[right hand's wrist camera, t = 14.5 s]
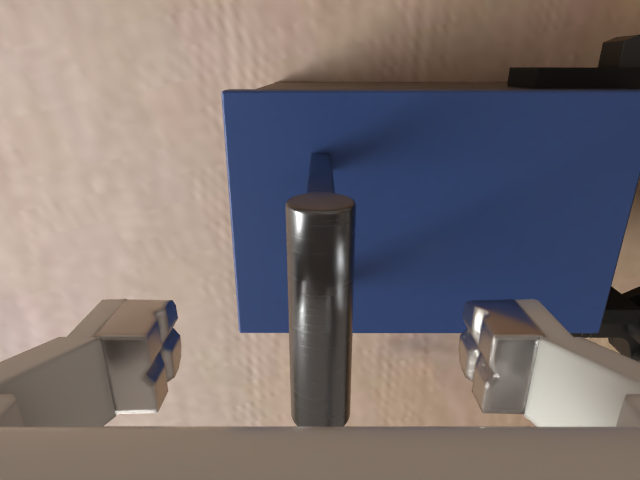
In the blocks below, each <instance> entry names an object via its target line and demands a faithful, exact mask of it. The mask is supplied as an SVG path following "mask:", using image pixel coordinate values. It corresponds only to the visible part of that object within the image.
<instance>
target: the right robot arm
mask: <svg viewBox="0 0 640 480" xmlns="http://www.w3.org/2000/svg"><path fill="white" fill-rule="evenodd" d="M177 319H178V316H177V310H176V305H175V303H174V302H173V300H127V299H108V300H102V301H101V302H100V303H99V304H98V305H97V306H96V307H95V308H94V309H93V310H92V311H91V312H90V313H89V314H88V315H87V316H86V317H85V318H84V320H83V321H82V322H81V323H80V324H79V325H78V326H77V327H76V328H75V329H74V330H73V331H72V332H71V333H70V334H69V335H68V336H67V337H58V338H56V339H54V340H51V341H49V342H47V343H44V344H42V345H40V346H37V347H35V348H32V349H30V350H28V351H25V352H23V353H21V354H18V355H16V356H14V357H11V358H9V359H7V360H4V361H2V362H0V480H640V362H638V361H636V360H633V359H631V358H629V357H626V356H624V355H622V354H619V353H617V352H615V351H612V350H610V349H608V348H605V347H603V346H601V345H598V344H596V343H593V342H591V341H589V340H586V339H584V338H582V337H573V336H572V335H571V334H570V333H569V332H568V331H567V330H566V329H565V328H564V327H563V326H562V325H561V324H560V323H559V321H558V320H557V319H556V318H555V317H554V316H553V315H552V314H551V313H550V312H549V311H548V310H547V309H546V308H545V307H544V306H543V305H542V304H541V303H540V302H539V301H538V300H535V299H519V300H514V299H505V300H470V301H466V303H465V306H464V309H463V316H462V319H463V320H464V322H465V324H466V326H467V328H466V330H465V331H464V332H463V333H462V334H461V335H460V341H459V359H460V364H461V368H462V371H463V373H464V375H465V377H466V378H467V379H469V380H470V381H472V382H473V386H472V392H473V394H474V396H475V398H476V401H477V403H478V405H479V407H480V409H481V411H482V413H503V414H524V416H525V417H526V418H527V419H529V420H530V421H531V422H532V423H534V424H535V425H536V426H537V427H103V426H104V425H105V424H107V423H108V422H109V421H110V420H112V419H113V418H114V417H115V416H116V414H136V413H158V411H159V409H160V407H161V405H162V403H163V401H164V399H165V397H166V394H167V392H168V386H167V382H168V381H170V380H171V379H173V378H174V377H175V375H176V373H177V371H178V369H179V364H180V359H181V339H180V335H179V334H178V333H177V332H176V331H175V330H174V328H173V326H174V324H175V322H176V321H177Z"/></svg>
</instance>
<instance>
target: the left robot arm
mask: <svg viewBox="0 0 640 480" xmlns="http://www.w3.org/2000/svg"><path fill="white" fill-rule="evenodd" d="M507 86H515V87H526V88H625V89H640V35H633V36H624V37H616V38H613V39H611V40H608V41H606V42H603V45H602V50H601V55H600V60H599V65H598V68H510V70H509V77H508V84H507ZM570 334H571V335H572V336H573V337H582V338H588V337H590V338H608V340H609V343H610V344H611V345H612V346H613V347H615V348H616V350H617V351H618V352H620V353H621V354H622V355H624V356H626V357H629V358H631V359H633V360H636V361H638V362H640V287H637V288H635V289H633V290H630V291H628V292H626V293H623V294H621V293H619V292H618V291H617V290H615V289H614V288H613V287H611V288H610V292H609V296H608V300H607V304H606V308H605V311H604V315H603V319H602V323H601V327H600V331H599V333H570Z"/></svg>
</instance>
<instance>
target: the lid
mask: <svg viewBox="0 0 640 480" xmlns="http://www.w3.org/2000/svg"><path fill="white" fill-rule="evenodd" d="M222 107H223V120H224V133H225V147H226V160H227V174H228V187H229V201H230V214H231V227H232V241H233V254H234V268H235V281H236V295H237V308H238V321H239V331H240V333H289V348H290V383H291V415H292V418H293V421H294V422H295V424H296V425H297V426H298V427H343V426H344V425H345V424H346V423H347V421H348V419H349V416H350V391H351V358H352V333H463V332H464V331H465V330H466V328H467V326H466V324H465V322H464V320H463V319H462V316H463V309H464V306H465V303H466V301H470V300H505V299H514V300H519V299H535V300H538V301H539V302H540V303H541V304H542V305H543V306H544V307H545V308H546V309H547V310H548V311H549V312H550V313H551V314H552V315H553V316H554V317H555V318H556V319H557V320H558V321H559V323H560V324H561V325H562V326H563V327H564V328H565V329H566V330H567V331H568V332H569V333H599V331H600V327H601V323H602V319H603V315H604V311H605V308H606V304H607V300H608V296H609V292H610V288H611V284H612V281H613V277H614V273H615V269H616V265H617V261H618V257H619V254H620V250H621V246H622V242H623V238H624V234H625V230H626V226H627V223H628V219H629V215H630V211H631V207H632V203H633V199H634V196H635V192H636V188H637V184H638V180H639V176H640V90H416V89H229V90H225V91H222Z"/></svg>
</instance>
